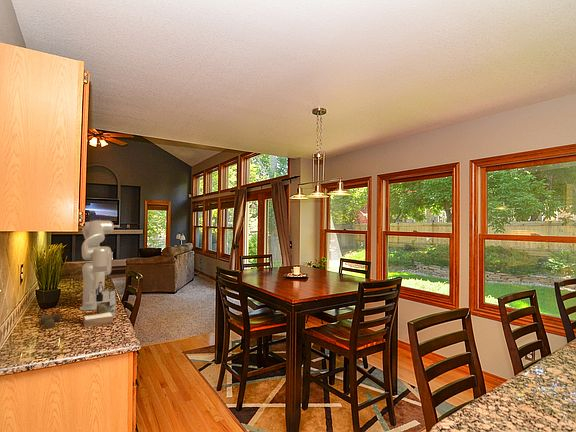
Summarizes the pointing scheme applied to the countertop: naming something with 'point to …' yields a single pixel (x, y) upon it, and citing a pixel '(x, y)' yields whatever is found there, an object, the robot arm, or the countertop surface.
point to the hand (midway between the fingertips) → (98, 300)
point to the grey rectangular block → (50, 320)
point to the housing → (93, 297)
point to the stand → (97, 319)
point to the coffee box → (108, 304)
